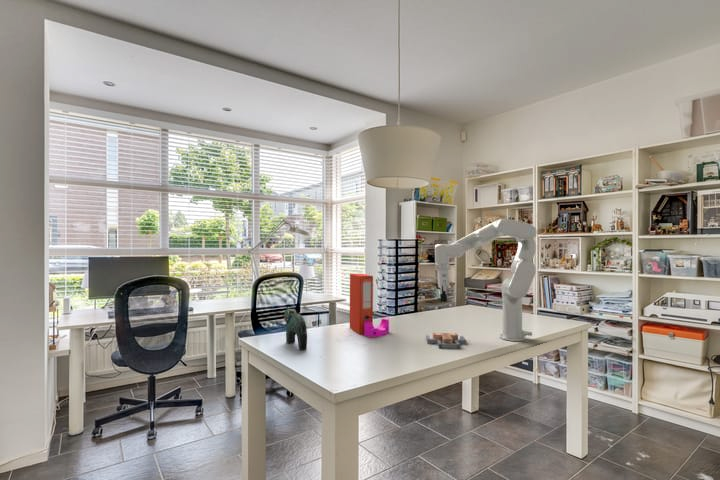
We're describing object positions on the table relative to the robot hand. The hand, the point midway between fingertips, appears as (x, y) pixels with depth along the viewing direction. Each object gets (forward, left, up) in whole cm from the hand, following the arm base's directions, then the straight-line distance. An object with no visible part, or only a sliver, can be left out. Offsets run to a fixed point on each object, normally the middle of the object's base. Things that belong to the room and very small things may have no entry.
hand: (443, 301), depth 198 cm
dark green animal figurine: (+75, +21, -19) cm, 80 cm away
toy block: (+35, -4, -19) cm, 40 cm away
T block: (+1, +14, -19) cm, 23 cm away
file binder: (+45, -11, -19) cm, 50 cm away
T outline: (+1, +13, -19) cm, 23 cm away
